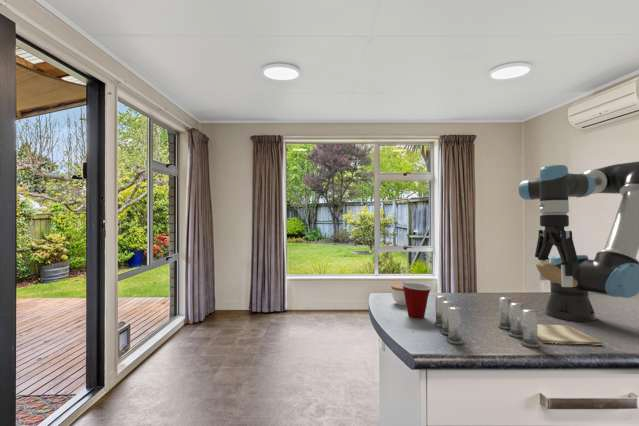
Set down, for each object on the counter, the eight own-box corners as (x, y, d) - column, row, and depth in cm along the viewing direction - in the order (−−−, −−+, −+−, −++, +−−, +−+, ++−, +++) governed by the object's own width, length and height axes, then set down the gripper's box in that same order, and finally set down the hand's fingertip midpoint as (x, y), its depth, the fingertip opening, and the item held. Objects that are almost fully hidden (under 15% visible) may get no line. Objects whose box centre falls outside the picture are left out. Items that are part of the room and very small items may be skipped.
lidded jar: (421, 305, 142) (421, 283, 142) (399, 307, 139) (399, 285, 139) (408, 300, 152) (408, 279, 153) (387, 301, 149) (386, 280, 150)
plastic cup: (433, 322, 119) (433, 288, 120) (402, 320, 121) (402, 287, 122) (430, 313, 130) (429, 282, 130) (401, 312, 132) (401, 281, 132)
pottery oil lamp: (564, 289, 98) (564, 264, 99) (528, 282, 110) (528, 260, 110) (586, 287, 101) (586, 264, 101) (549, 280, 112) (549, 259, 113)
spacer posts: (509, 326, 115) (509, 296, 115) (542, 348, 94) (542, 312, 95) (433, 323, 117) (433, 294, 118) (449, 344, 97) (449, 309, 97)
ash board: (567, 328, 112) (567, 325, 112) (602, 345, 97) (602, 342, 97) (517, 326, 114) (517, 323, 114) (543, 343, 98) (543, 340, 98)
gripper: (523, 215, 119) (523, 276, 118) (564, 213, 95) (565, 290, 94) (545, 215, 118) (546, 277, 117) (592, 213, 94) (594, 291, 94)
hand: (555, 283), depth 106 cm, fingers closed on pottery oil lamp, 11 cm apart
